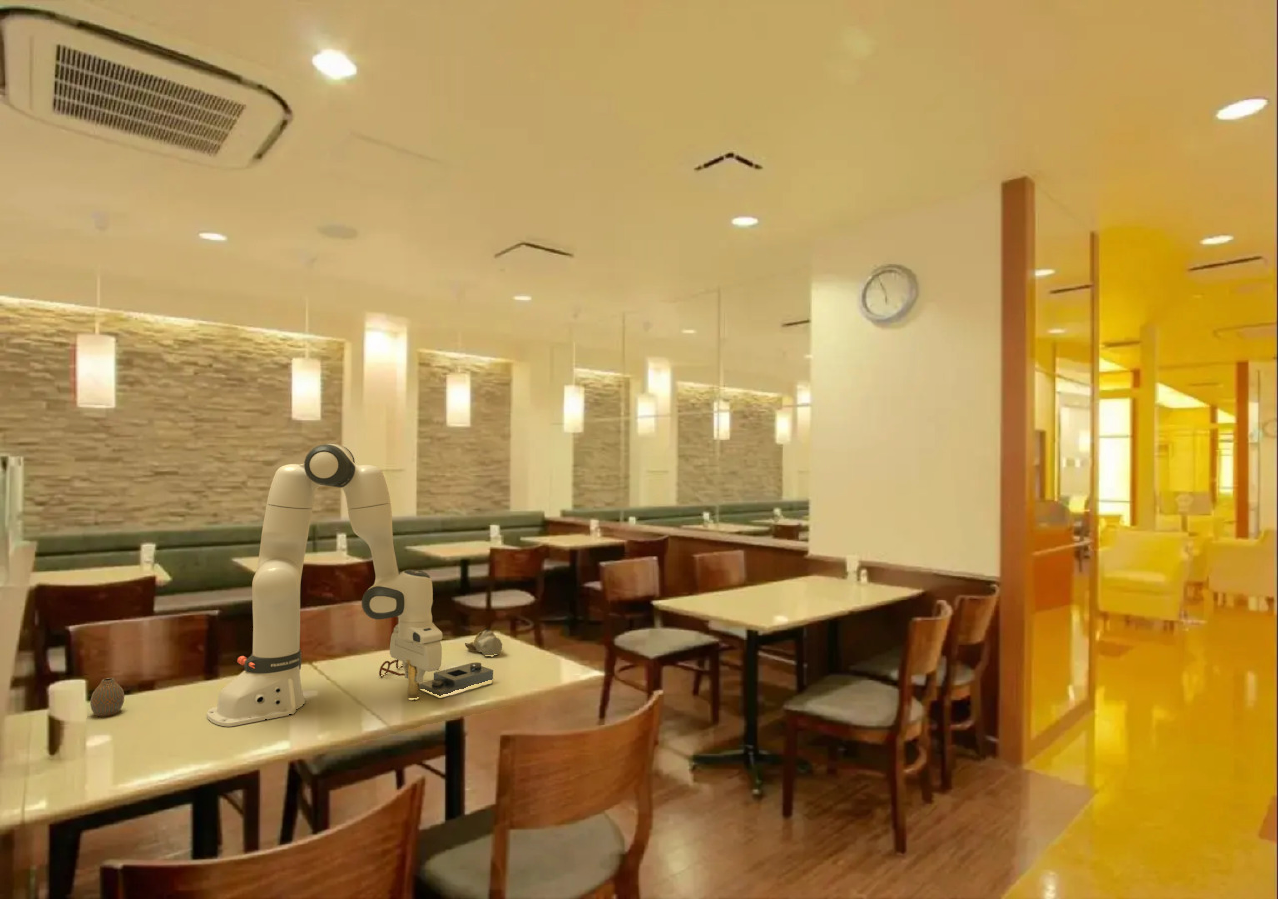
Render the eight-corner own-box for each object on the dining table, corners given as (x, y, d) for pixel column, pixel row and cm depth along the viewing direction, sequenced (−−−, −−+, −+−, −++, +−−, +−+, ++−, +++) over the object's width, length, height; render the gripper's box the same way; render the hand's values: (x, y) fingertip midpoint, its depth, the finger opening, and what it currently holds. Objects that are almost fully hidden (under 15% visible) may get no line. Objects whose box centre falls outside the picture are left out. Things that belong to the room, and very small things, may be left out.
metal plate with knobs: (440, 699, 198) (440, 680, 198) (419, 690, 205) (420, 672, 205) (492, 683, 212) (493, 666, 212) (472, 676, 218) (472, 658, 218)
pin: (411, 702, 195) (411, 661, 195) (402, 698, 197) (403, 658, 197) (424, 698, 198) (424, 658, 198) (415, 695, 200) (416, 655, 200)
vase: (84, 720, 178) (85, 684, 178) (97, 710, 184) (98, 675, 184) (117, 717, 180) (117, 682, 180) (128, 708, 186) (129, 674, 186)
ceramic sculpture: (479, 633, 233) (463, 626, 246) (479, 661, 233) (462, 652, 245) (510, 630, 239) (492, 623, 252) (510, 656, 239) (492, 648, 251)
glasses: (403, 667, 227) (403, 651, 227) (440, 671, 224) (440, 655, 224) (377, 680, 214) (378, 663, 214) (416, 684, 211) (416, 667, 211)
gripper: (384, 624, 202) (383, 674, 202) (425, 639, 188) (424, 691, 189) (404, 621, 207) (403, 669, 207) (446, 634, 193) (445, 686, 193)
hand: (413, 680), depth 197 cm, fingers closed on pin, 3 cm apart
